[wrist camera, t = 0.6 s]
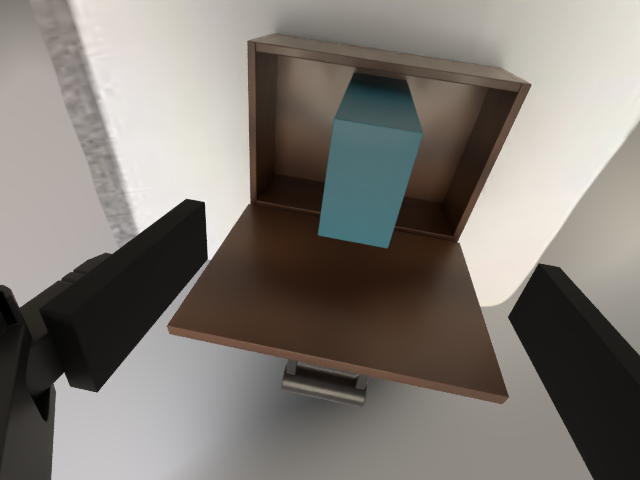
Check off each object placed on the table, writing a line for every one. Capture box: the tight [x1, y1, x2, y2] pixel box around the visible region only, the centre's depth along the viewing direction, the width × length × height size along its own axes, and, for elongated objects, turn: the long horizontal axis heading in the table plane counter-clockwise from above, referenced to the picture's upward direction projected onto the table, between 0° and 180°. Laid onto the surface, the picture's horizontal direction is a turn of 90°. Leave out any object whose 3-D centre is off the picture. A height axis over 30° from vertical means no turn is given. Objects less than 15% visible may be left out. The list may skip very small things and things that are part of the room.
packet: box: [318, 72, 423, 248], centre depth 24 cm, size 8×5×14 cm, turn 173°
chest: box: [248, 34, 531, 242], centre depth 28 cm, size 13×19×7 cm
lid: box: [167, 204, 509, 407], centre depth 26 cm, size 14×19×8 cm
